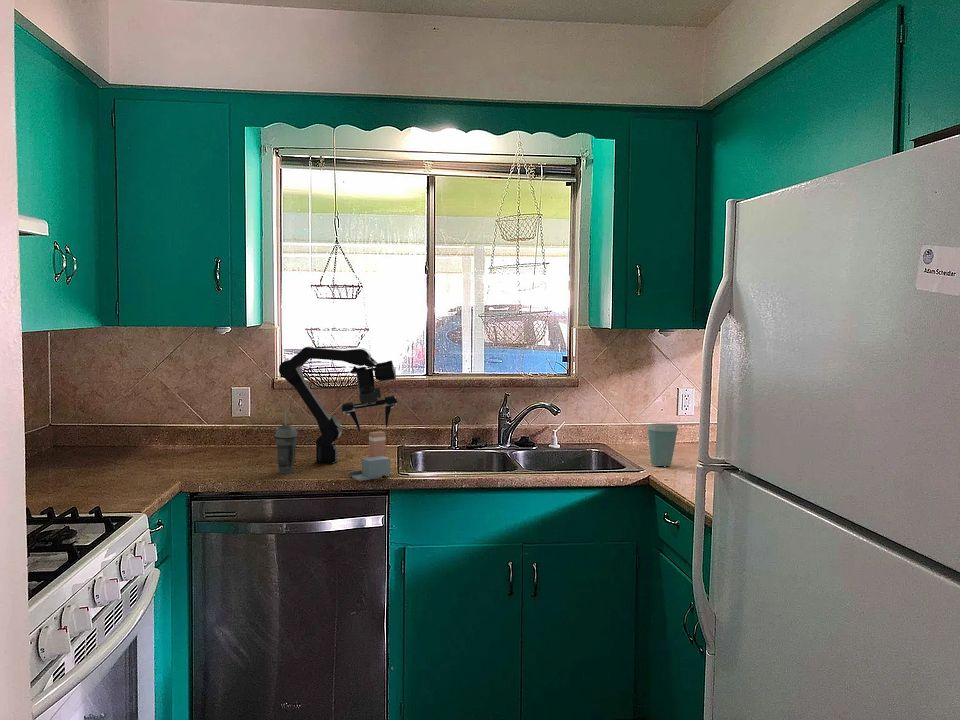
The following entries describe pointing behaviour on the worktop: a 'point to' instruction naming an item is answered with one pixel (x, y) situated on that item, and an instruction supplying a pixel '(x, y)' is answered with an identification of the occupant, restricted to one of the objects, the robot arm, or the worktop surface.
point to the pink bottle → (377, 444)
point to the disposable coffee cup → (662, 442)
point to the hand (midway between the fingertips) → (373, 429)
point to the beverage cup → (286, 447)
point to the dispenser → (372, 468)
